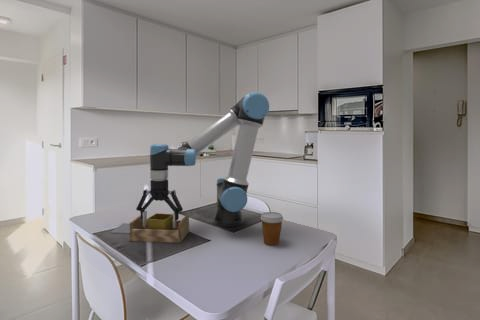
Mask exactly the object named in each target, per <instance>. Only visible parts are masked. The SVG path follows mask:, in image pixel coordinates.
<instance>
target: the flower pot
mask: <svg viewBox="0 0 480 320" xmlns="http://www.w3.org/2000/svg"><path fill="white" fill-rule="evenodd" d="M147 223H148V228H149V229H151V230H171V228H172V224H173V213H162V212H161V213H159V212H157V213H154V214H153V215H151V216H149V217H147Z"/></svg>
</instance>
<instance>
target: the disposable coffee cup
mask: <svg viewBox="0 0 480 320" xmlns="http://www.w3.org/2000/svg"><path fill="white" fill-rule="evenodd" d="M260 220H261V227H262V236H263V243H264V244H265V245H268V246H278V245H279V243H280V238H281V231H282V225H283V221H284V217H283V214H282V213H279V212H275V211H266V212H262V214H261V216H260Z"/></svg>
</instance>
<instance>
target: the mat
mask: <svg viewBox="0 0 480 320" xmlns="http://www.w3.org/2000/svg"><path fill="white" fill-rule="evenodd" d="M109 234H120V235H121V234H124V235H125V234H126V235H127V234H129V235H130V222H129V223H121V224H120V225H119V226H117V227H116V228H114V229H113V230H111V231H109Z"/></svg>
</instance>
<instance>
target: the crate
mask: <svg viewBox="0 0 480 320" xmlns="http://www.w3.org/2000/svg"><path fill="white" fill-rule="evenodd" d="M129 224H130V234H129V241H130V242H143V243H144V242H145V243H146V242H148V243H149V242H150V243H178V244H179V243H180V244H181V243H182V242H183V241H184V239H185V237H186V236H187V234H188V233H189V232H190V214H186V215H185V216H183V218H182V219H181V220H179V219H178V220H176V227H175V228H173V224H172V228H171V230H151V229H149V228H148V223H147V225H146V226H145V227H143V219H141V214H140V215H139V216H137V217H136V218H134V219H133V220H131V221H129Z"/></svg>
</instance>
